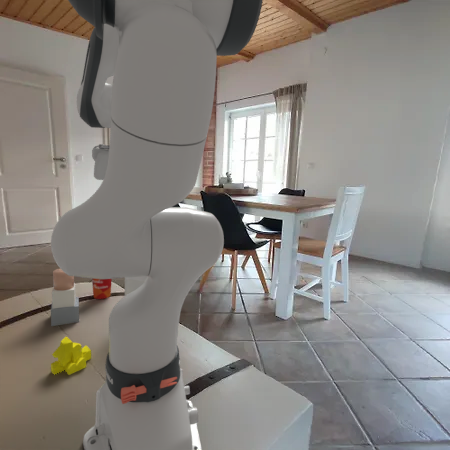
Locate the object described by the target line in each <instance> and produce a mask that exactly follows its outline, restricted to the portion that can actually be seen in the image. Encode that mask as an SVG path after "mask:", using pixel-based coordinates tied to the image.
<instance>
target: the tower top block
mask: <svg viewBox="0 0 450 450" xmlns="http://www.w3.org/2000/svg"><path fill="white" fill-rule="evenodd" d="M76 297H77V295H76V282H74V287H73V288H71V289H68V290H55V289H54V286H53V288H52V290H51V305H52V309H54V308H62V307H71V306H75V299H76Z"/></svg>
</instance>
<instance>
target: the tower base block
mask: <svg viewBox="0 0 450 450" xmlns="http://www.w3.org/2000/svg"><path fill="white" fill-rule="evenodd" d="M79 301H80V299H79V296H76V299H75V306H71V307H62V308H54V309H52V304H51V305H50V326H51V327H54V326H55V327H56V326H61V325H67V324H73V323H74V324H75V323H79V322H80V302H79Z"/></svg>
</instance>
